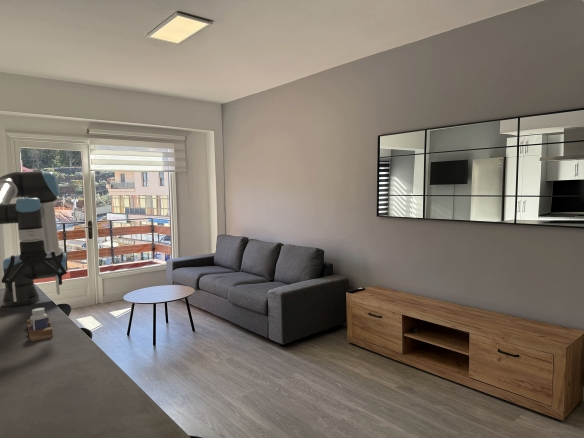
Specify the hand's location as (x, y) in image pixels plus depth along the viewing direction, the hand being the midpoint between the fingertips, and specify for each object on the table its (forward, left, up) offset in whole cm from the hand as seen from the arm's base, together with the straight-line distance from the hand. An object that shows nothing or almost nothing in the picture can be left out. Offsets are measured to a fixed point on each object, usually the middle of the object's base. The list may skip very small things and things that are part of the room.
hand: (37, 297), depth 150 cm
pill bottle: (0, 0, -14) cm, 14 cm away
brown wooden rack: (-4, -1, -14) cm, 15 cm away
